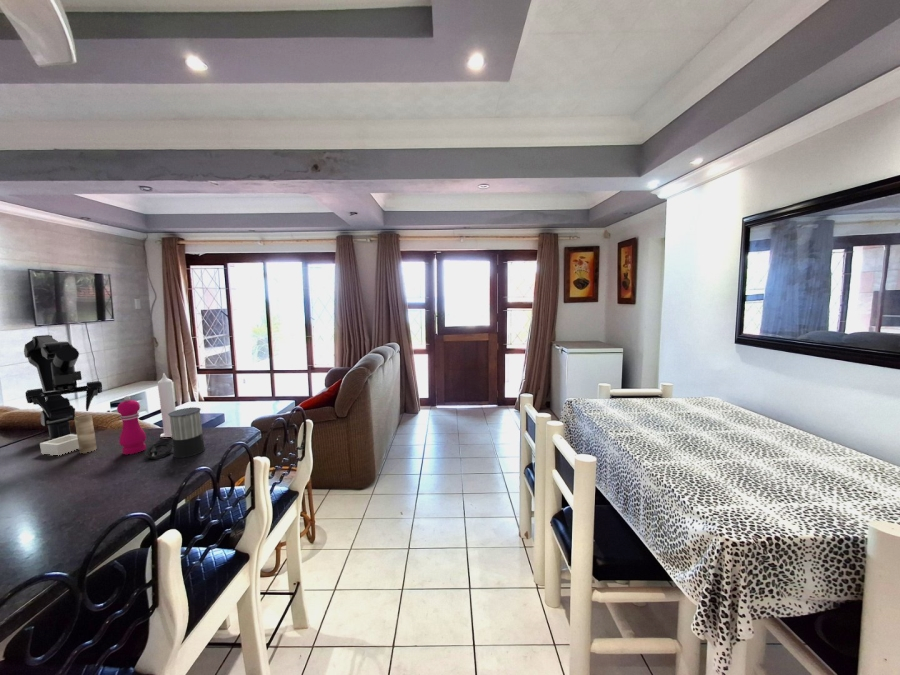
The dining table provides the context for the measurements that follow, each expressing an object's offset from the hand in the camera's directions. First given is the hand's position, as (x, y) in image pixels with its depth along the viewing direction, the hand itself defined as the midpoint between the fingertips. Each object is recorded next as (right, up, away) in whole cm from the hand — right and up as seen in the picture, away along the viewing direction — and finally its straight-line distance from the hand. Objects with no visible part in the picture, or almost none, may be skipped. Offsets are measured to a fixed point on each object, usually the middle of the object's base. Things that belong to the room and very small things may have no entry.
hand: (68, 413), depth 130 cm
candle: (+24, -12, +16) cm, 31 cm away
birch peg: (+4, -14, +3) cm, 15 cm away
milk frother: (+39, -14, -2) cm, 42 cm away
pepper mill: (+22, -14, +1) cm, 26 cm away
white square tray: (-6, -14, +5) cm, 16 cm away
